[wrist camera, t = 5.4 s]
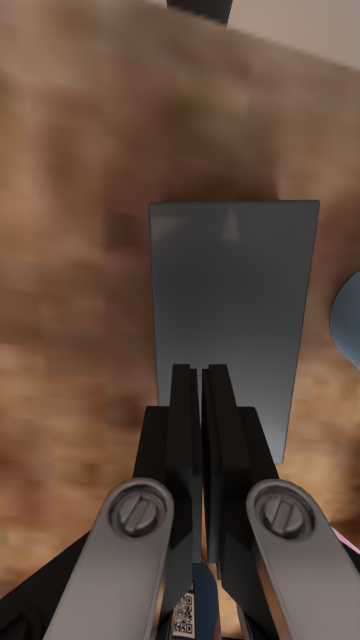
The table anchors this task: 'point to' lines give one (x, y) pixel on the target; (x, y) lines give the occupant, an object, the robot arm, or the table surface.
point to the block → (233, 297)
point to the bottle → (347, 320)
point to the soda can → (199, 608)
